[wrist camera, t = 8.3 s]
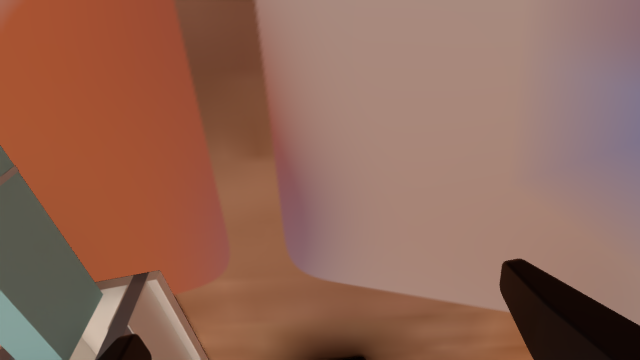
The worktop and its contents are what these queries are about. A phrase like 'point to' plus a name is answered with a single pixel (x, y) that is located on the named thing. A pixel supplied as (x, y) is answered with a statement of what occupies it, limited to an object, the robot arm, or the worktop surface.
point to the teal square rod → (38, 277)
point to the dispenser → (137, 320)
